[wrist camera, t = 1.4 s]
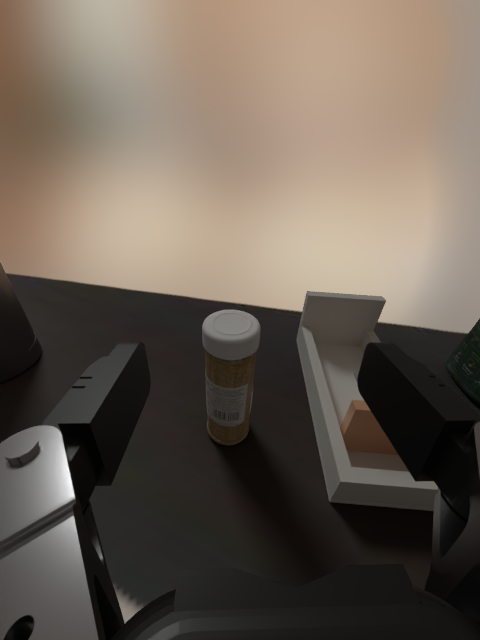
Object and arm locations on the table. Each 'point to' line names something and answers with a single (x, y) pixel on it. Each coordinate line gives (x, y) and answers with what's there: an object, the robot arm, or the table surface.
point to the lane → (335, 398)
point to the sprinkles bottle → (229, 373)
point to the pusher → (364, 430)
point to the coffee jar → (467, 364)
